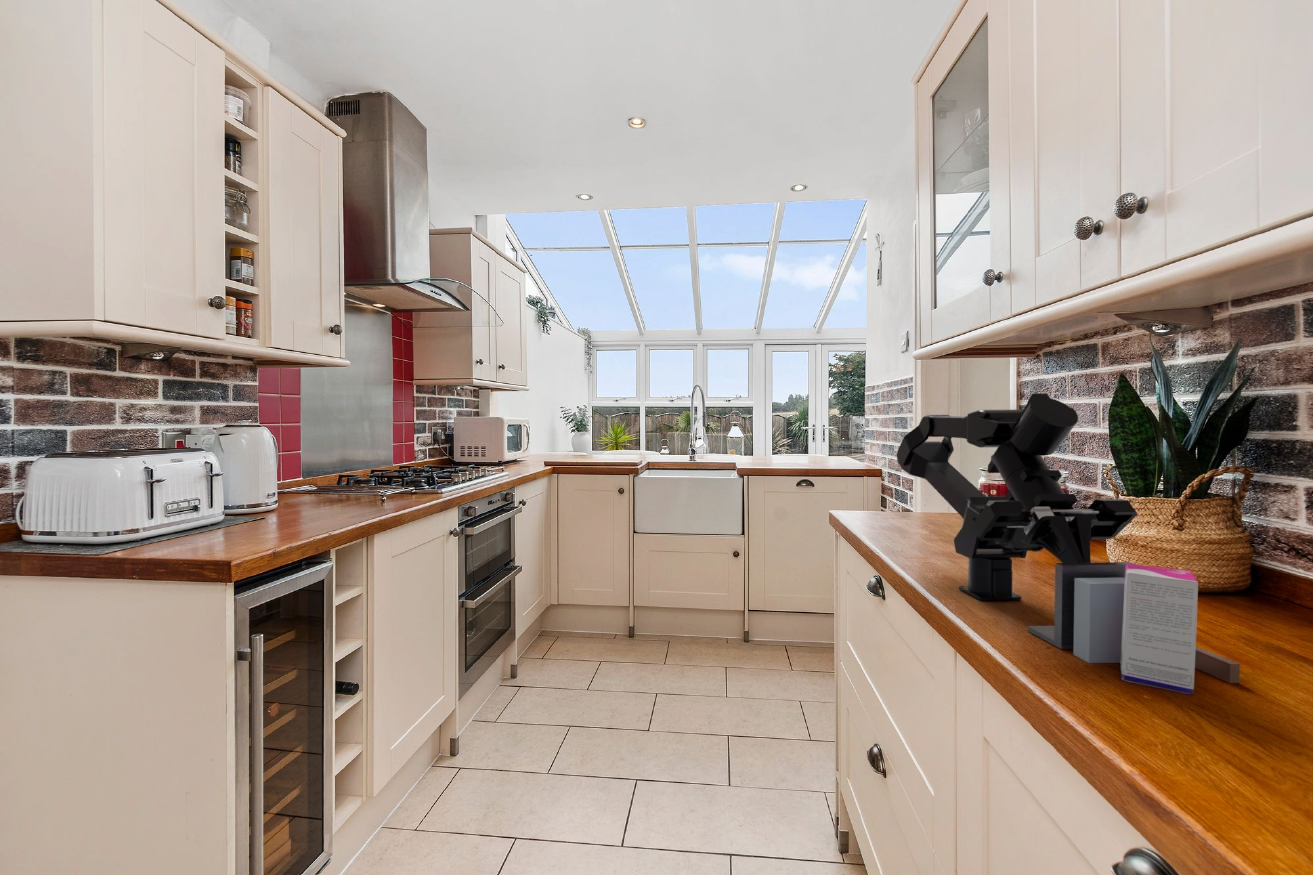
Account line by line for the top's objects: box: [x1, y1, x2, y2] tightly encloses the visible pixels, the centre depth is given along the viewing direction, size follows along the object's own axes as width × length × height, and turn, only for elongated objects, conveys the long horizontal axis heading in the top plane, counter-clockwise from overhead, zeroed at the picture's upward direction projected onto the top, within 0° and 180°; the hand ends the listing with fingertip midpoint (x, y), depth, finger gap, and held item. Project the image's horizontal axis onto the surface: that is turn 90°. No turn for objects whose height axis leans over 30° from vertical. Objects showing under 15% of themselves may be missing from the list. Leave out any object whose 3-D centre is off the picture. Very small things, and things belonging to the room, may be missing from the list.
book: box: [1072, 578, 1125, 664], centre depth 68 cm, size 2×8×9 cm, turn 92°
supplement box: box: [1120, 563, 1199, 695], centre depth 63 cm, size 6×6×12 cm
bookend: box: [1026, 561, 1134, 650], centre depth 74 cm, size 6×9×10 cm
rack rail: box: [1195, 645, 1241, 684], centre depth 69 cm, size 15×1×2 cm, turn 2°
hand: (1085, 576), depth 73 cm, fingers closed
